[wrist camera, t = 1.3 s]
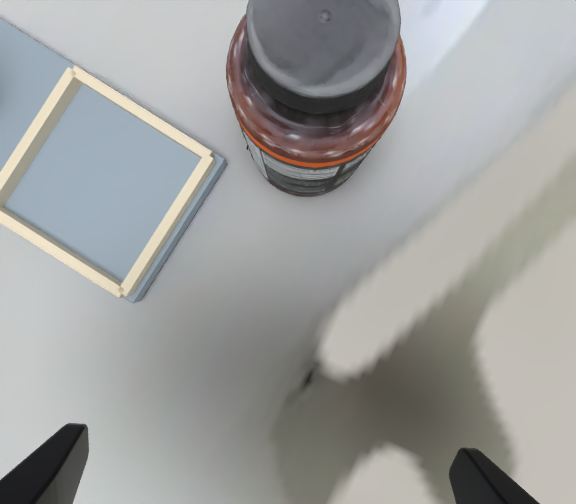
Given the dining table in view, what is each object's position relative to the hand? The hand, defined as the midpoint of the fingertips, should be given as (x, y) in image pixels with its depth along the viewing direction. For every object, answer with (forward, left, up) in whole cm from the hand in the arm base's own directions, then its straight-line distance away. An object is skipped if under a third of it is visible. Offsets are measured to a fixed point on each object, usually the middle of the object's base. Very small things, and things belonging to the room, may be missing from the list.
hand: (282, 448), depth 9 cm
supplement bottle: (+5, -10, -12) cm, 16 cm away
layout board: (+15, -2, -12) cm, 19 cm away
